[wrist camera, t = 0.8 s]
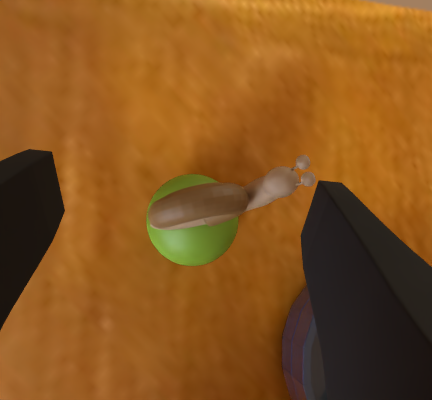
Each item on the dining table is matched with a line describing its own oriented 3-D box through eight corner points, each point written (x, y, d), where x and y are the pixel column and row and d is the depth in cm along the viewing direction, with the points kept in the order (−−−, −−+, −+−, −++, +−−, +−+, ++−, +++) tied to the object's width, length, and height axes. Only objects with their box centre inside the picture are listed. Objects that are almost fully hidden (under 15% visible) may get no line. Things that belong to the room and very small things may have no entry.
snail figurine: (251, 248, 24) (338, 239, 13) (159, 274, 23) (160, 292, 11) (230, 173, 25) (294, 97, 13) (139, 194, 24) (120, 132, 12)
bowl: (446, 443, 24) (501, 479, 20) (277, 448, 22) (302, 488, 19) (436, 265, 26) (484, 266, 22) (280, 256, 25) (303, 256, 21)
